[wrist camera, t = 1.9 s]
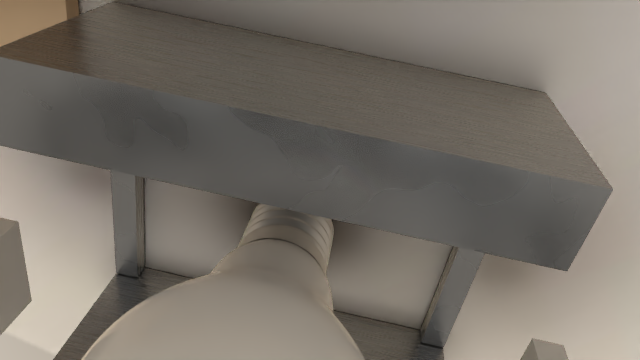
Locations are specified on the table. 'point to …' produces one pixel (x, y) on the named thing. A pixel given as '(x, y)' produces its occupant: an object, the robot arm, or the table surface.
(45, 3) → the cork pad
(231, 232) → the table surface
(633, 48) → the table surface
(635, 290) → the table surface
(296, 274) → the lightbulb
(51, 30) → the housing
